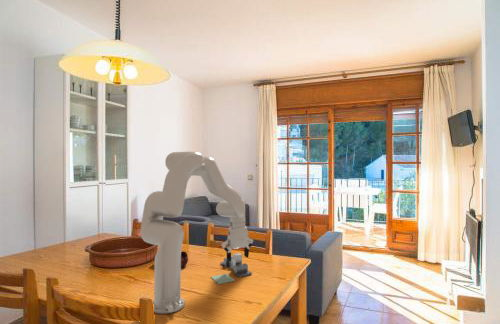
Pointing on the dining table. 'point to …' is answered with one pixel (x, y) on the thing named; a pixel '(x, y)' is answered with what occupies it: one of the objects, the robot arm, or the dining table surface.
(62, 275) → the dining table surface
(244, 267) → the vise
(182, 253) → the ashtray
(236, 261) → the hook
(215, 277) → the mat
